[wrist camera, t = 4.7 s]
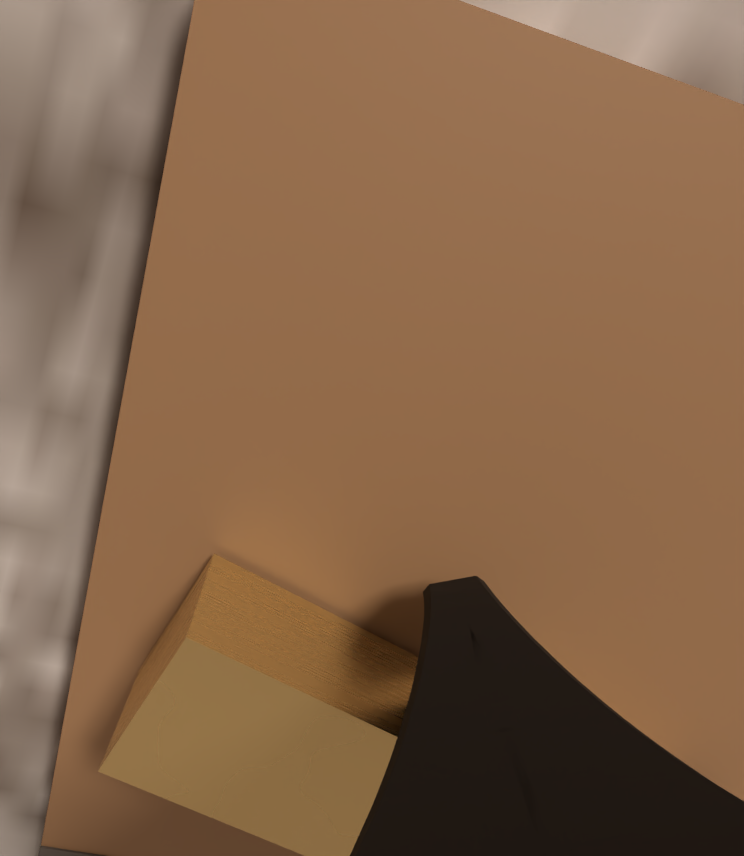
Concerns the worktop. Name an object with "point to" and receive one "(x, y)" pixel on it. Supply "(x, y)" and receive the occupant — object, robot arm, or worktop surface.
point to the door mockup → (429, 371)
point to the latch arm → (264, 713)
